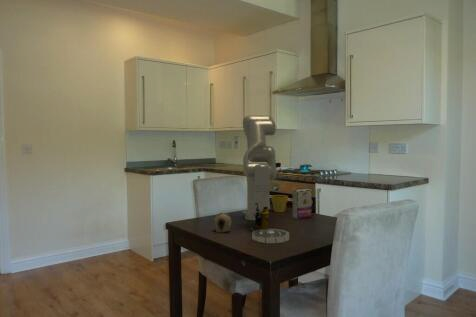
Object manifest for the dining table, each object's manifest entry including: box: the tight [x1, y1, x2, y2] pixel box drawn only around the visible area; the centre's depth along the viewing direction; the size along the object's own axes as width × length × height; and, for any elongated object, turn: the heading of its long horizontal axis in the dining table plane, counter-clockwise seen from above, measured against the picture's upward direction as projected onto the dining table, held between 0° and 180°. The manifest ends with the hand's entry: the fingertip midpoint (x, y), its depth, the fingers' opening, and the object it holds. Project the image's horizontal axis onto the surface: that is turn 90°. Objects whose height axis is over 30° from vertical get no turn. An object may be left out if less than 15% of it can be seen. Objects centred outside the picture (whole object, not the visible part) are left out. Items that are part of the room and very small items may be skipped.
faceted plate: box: [251, 228, 290, 244], centre depth 175 cm, size 17×17×2 cm
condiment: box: [250, 207, 269, 232], centre depth 191 cm, size 7×8×12 cm
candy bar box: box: [292, 188, 313, 220], centre depth 221 cm, size 11×5×16 cm, turn 120°
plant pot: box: [270, 194, 289, 213], centre depth 240 cm, size 10×10×10 cm
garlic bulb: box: [213, 212, 233, 233], centre depth 188 cm, size 9×8×10 cm
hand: (261, 223), depth 192 cm, fingers closed on condiment, 6 cm apart
